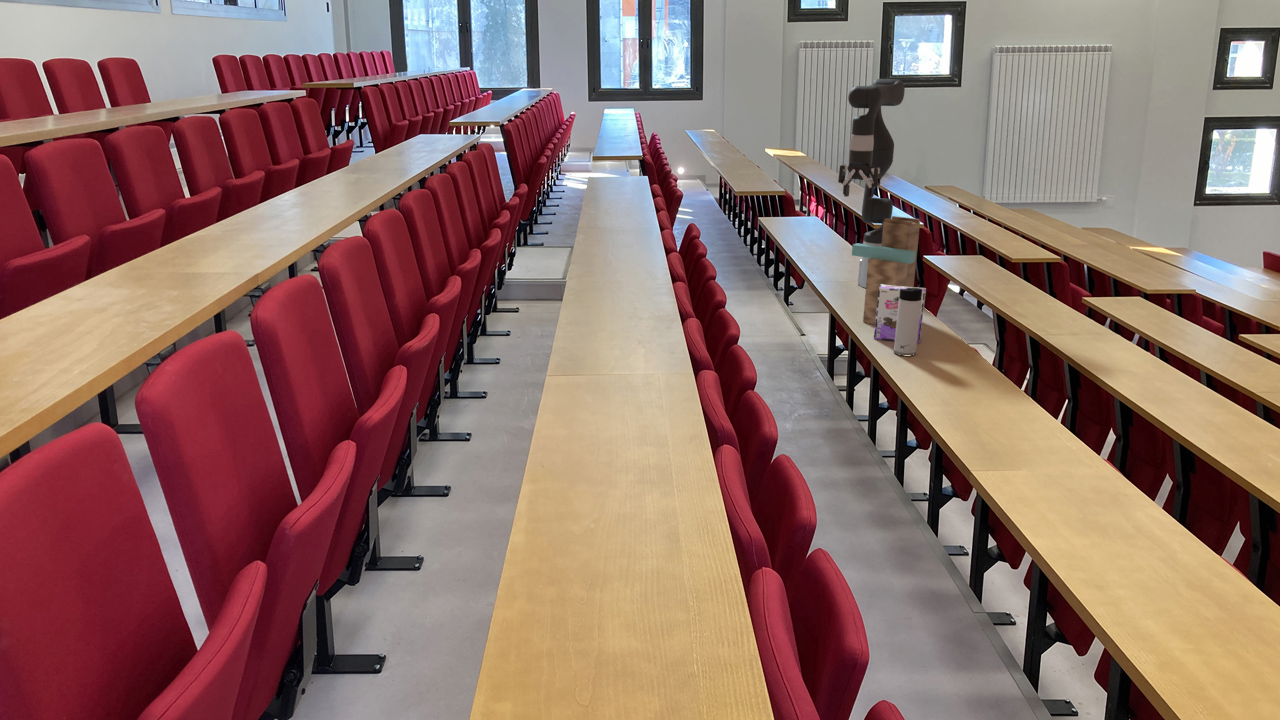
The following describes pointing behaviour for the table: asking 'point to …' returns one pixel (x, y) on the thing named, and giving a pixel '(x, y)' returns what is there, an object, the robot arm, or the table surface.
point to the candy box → (892, 312)
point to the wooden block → (878, 275)
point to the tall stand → (902, 239)
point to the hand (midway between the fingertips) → (857, 197)
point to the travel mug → (907, 321)
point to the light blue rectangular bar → (883, 253)
